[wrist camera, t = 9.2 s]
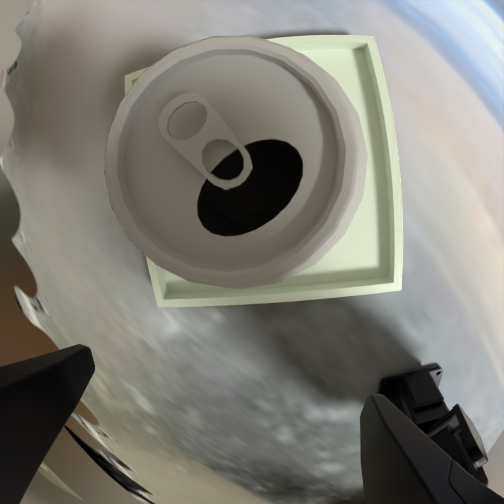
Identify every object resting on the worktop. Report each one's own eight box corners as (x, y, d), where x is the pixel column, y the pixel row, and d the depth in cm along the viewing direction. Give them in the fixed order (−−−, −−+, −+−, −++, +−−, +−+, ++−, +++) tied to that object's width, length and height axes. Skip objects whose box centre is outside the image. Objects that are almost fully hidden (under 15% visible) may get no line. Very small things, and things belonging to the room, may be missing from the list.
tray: (392, 279, 19) (401, 290, 17) (168, 296, 21) (158, 307, 20) (366, 47, 15) (373, 36, 13) (137, 82, 17) (124, 75, 15)
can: (255, 250, 19) (203, 362, 7) (183, 162, 18) (46, 158, 6) (347, 179, 17) (445, 190, 5) (271, 89, 16) (240, -29, 4)
